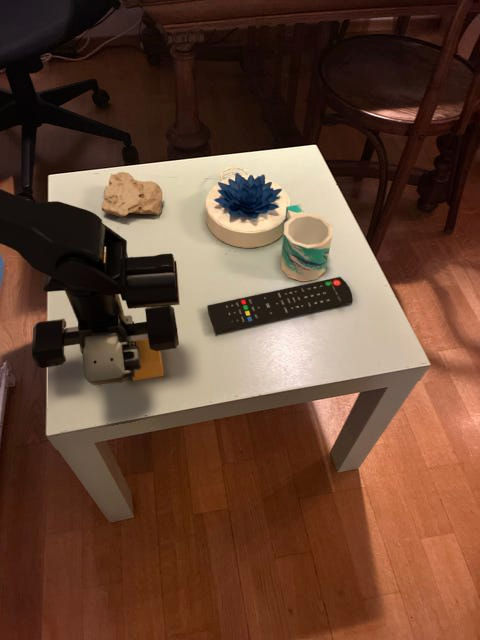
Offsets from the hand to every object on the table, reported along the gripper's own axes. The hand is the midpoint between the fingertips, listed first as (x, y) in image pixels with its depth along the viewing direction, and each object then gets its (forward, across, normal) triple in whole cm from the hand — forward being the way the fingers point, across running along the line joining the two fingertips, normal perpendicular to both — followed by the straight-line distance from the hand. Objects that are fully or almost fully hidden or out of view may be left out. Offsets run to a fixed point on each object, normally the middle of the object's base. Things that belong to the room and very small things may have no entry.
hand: (117, 366), depth 72 cm
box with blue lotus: (+1, +26, +31) cm, 40 cm away
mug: (+1, +33, +18) cm, 37 cm away
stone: (+1, +4, +36) cm, 36 cm away
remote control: (+1, +27, +7) cm, 28 cm away
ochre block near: (+1, +4, 0) cm, 4 cm away
